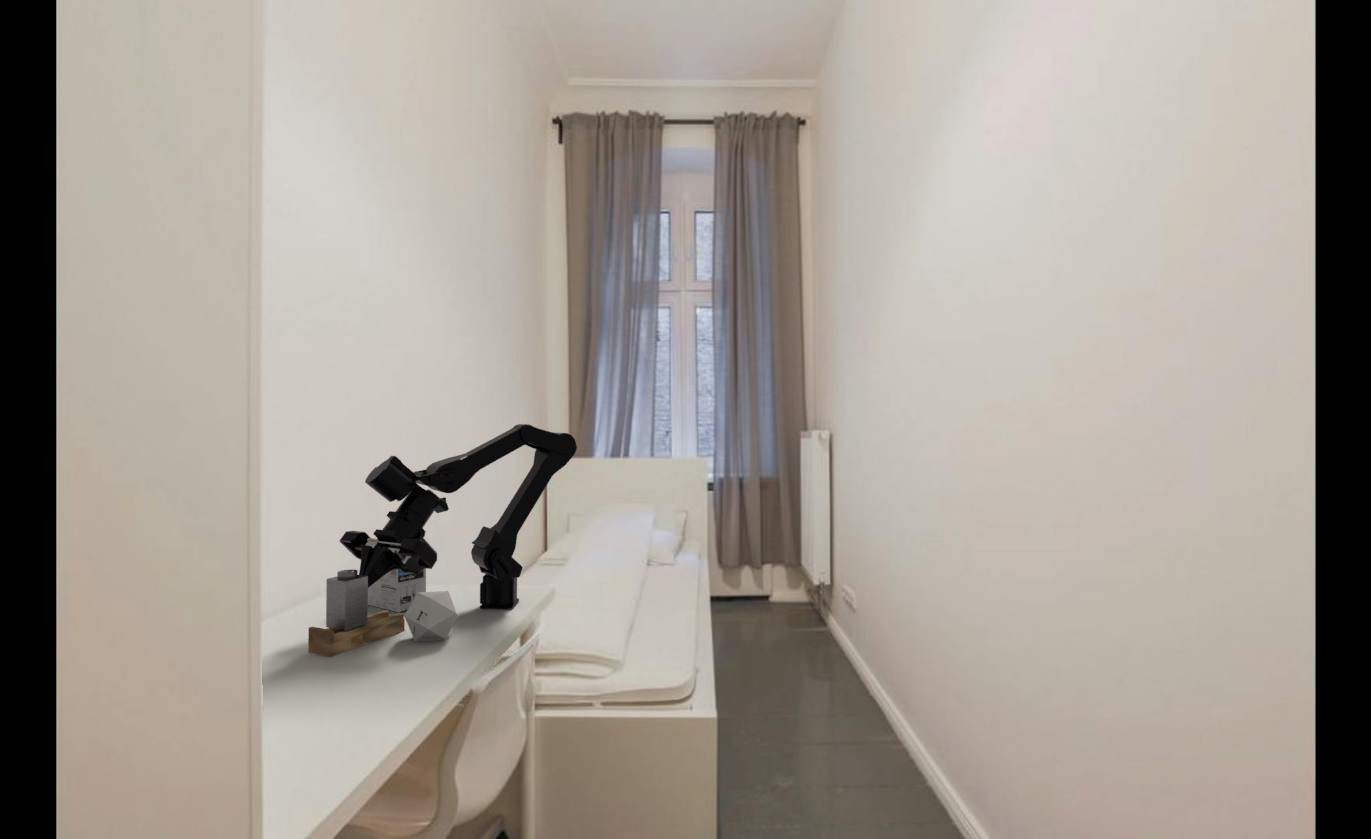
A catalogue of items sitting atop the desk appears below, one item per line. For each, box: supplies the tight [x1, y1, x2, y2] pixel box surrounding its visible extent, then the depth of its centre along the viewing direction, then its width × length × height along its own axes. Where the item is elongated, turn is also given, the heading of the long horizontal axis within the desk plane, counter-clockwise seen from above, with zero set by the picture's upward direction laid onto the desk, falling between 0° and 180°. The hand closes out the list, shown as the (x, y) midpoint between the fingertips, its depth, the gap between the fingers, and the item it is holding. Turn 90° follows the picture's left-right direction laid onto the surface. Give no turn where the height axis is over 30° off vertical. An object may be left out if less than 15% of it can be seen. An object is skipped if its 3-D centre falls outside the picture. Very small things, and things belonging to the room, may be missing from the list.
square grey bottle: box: [325, 569, 369, 633], centre depth 112 cm, size 4×4×10 cm
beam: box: [307, 609, 406, 658], centre depth 115 cm, size 15×5×4 cm, turn 156°
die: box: [404, 590, 458, 643], centre depth 116 cm, size 8×9×10 cm
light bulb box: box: [368, 568, 427, 613], centre depth 137 cm, size 11×7×11 cm, turn 58°
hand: (359, 590), depth 115 cm, fingers closed
